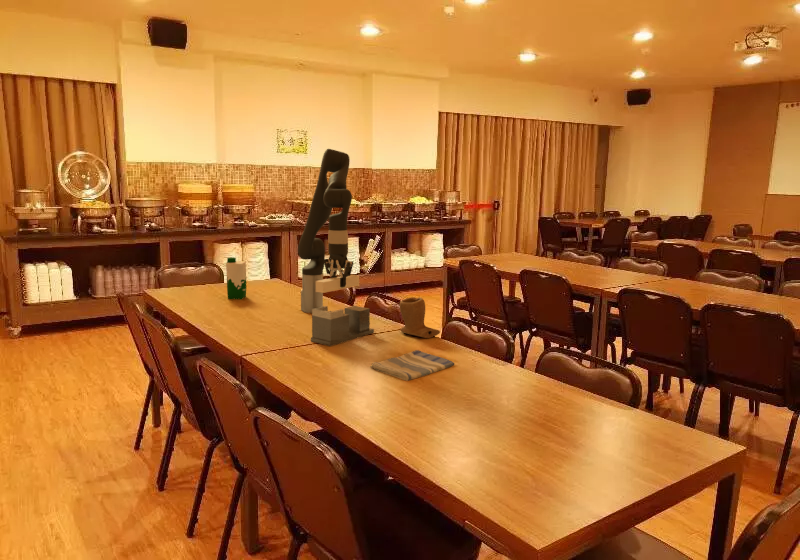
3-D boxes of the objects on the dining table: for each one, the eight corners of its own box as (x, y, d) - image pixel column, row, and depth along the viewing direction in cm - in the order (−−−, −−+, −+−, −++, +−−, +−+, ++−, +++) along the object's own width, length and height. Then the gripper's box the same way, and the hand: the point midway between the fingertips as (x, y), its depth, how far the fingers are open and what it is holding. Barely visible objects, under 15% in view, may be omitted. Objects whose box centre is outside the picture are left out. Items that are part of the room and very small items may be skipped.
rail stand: (310, 341, 229) (310, 309, 227) (354, 328, 249) (355, 298, 247) (330, 346, 224) (330, 313, 221) (373, 332, 243) (374, 302, 241)
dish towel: (368, 370, 200) (368, 361, 199) (418, 355, 216) (418, 348, 216) (406, 383, 188) (406, 374, 187) (455, 367, 204) (455, 359, 204)
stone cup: (392, 333, 242) (393, 296, 240) (414, 328, 250) (415, 293, 248) (419, 342, 231) (420, 303, 229) (440, 336, 239) (442, 299, 237)
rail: (315, 291, 228) (315, 281, 227) (351, 284, 243) (351, 274, 243) (323, 292, 225) (323, 282, 224) (359, 285, 241) (359, 275, 240)
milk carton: (230, 295, 307) (229, 256, 303) (248, 296, 307) (247, 257, 303) (225, 299, 298) (224, 259, 295) (243, 299, 298) (242, 259, 295)
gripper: (317, 241, 233) (318, 285, 235) (345, 244, 224) (345, 290, 227) (331, 239, 238) (331, 283, 241) (358, 242, 230) (358, 287, 233)
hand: (338, 286), depth 234 cm, fingers closed on rail, 4 cm apart
